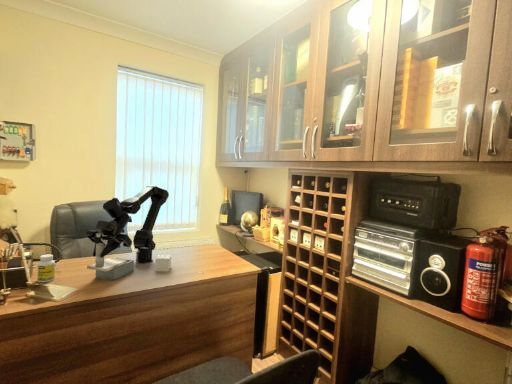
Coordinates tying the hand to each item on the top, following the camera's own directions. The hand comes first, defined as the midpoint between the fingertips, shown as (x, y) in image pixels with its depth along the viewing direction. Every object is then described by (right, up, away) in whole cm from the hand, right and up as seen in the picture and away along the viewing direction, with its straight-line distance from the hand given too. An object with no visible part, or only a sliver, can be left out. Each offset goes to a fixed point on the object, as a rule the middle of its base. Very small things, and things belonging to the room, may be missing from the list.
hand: (97, 256), depth 109 cm
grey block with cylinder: (+1, -5, +6) cm, 8 cm away
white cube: (+19, -11, +21) cm, 30 cm away
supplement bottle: (-20, -10, +1) cm, 23 cm away
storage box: (+2, -10, +11) cm, 15 cm away
